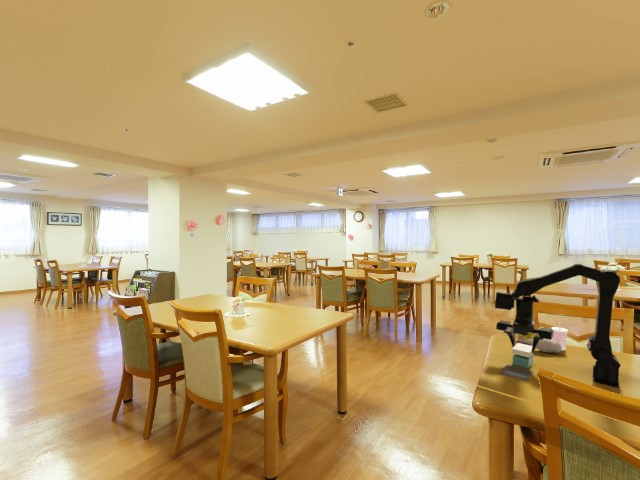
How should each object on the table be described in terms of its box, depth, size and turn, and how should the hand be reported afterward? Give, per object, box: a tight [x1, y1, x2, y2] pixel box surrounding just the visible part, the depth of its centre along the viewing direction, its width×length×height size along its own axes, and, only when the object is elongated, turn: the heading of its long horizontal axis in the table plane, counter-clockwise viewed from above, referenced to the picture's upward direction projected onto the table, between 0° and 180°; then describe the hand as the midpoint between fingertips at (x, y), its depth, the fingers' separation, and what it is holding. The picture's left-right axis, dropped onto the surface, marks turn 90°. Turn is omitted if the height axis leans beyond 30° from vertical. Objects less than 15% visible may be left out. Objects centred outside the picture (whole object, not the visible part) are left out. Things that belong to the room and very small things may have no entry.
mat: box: [498, 364, 534, 382], centre depth 122 cm, size 9×11×1 cm
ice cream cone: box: [524, 339, 562, 354], centre depth 144 cm, size 6×6×15 cm
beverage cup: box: [551, 317, 569, 351], centre depth 148 cm, size 6×6×14 cm
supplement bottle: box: [517, 321, 536, 345], centre depth 157 cm, size 7×7×13 cm
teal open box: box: [512, 353, 534, 370], centre depth 130 cm, size 5×8×4 cm, turn 137°
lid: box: [511, 342, 534, 358], centre depth 130 cm, size 6×9×2 cm, turn 137°
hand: (523, 350), depth 130 cm, fingers closed on lid, 6 cm apart
